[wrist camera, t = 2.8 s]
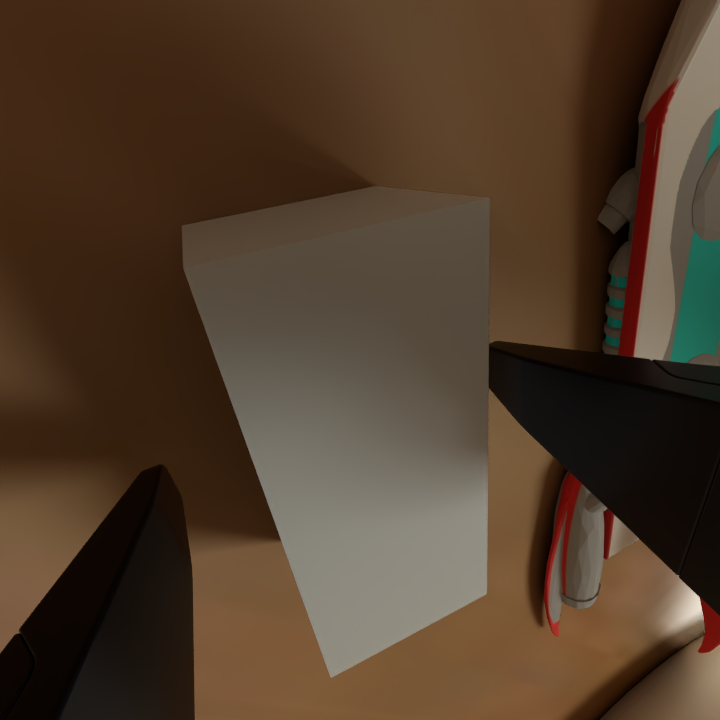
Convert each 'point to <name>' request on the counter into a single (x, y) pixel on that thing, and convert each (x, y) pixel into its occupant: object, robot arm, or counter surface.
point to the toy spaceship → (655, 276)
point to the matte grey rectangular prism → (360, 397)
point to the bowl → (675, 689)
